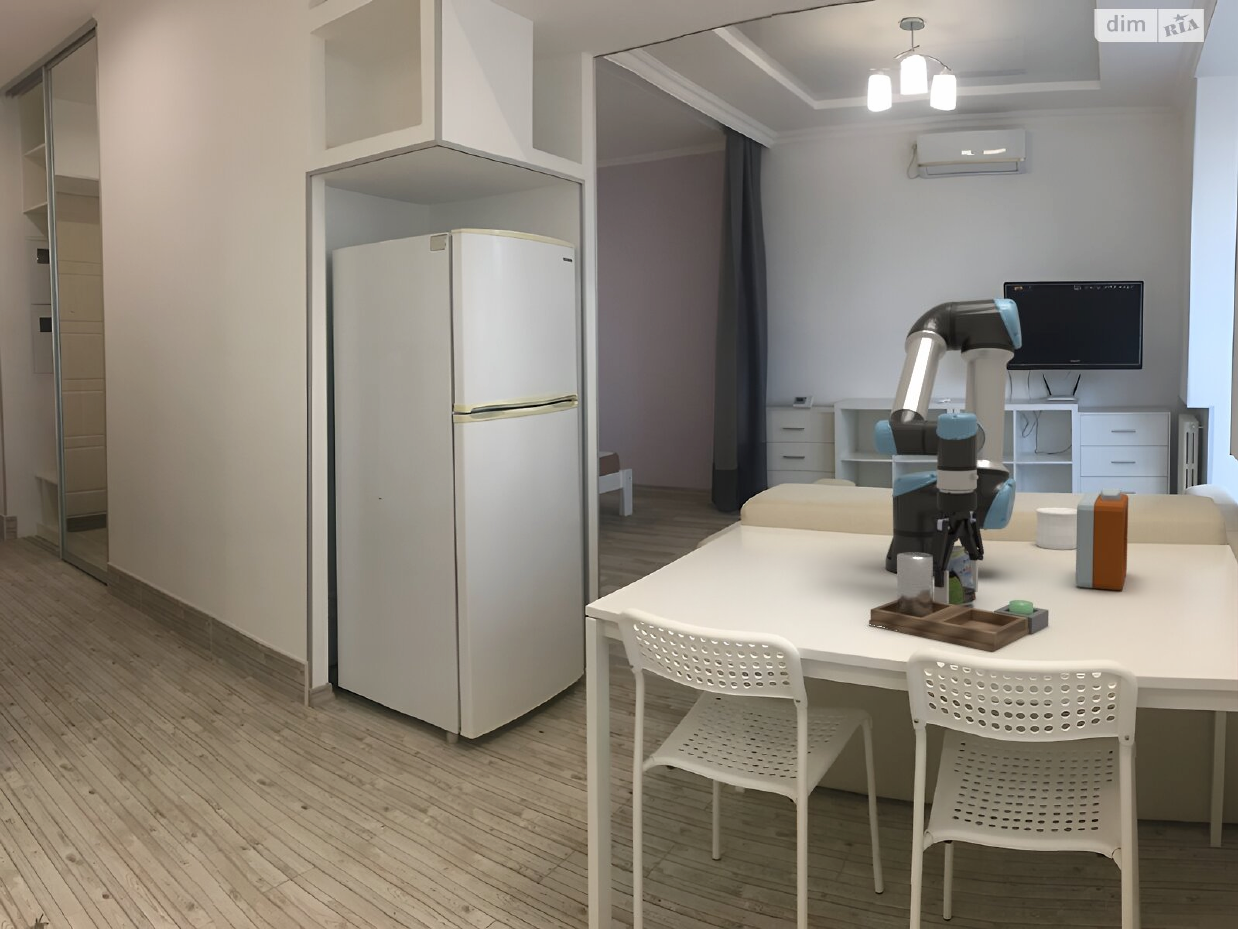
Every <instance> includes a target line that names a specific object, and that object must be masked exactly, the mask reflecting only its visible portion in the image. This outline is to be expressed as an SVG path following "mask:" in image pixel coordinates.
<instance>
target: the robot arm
mask: <svg viewBox="0 0 1238 929" xmlns="http://www.w3.org/2000/svg"><path fill="white" fill-rule="evenodd" d="M1021 329H1022V328H1021V322H1020V317H1019V311H1018V306H1017V303H1016V302H1015V301H1014V300H1013V299H1010V298H995V297H994V298H991V299H979V300H978V299H977V300H976V299H975V300H963V301H947V302H943V303H940V304H938V305H935V306H934V307H932V308H930V309H929V310H927V311H925V313H923V314H922V315H921V316H920V317H919V318H918V319H917V320H916V321H915V323H914V324H912V326H911V328H910V329H909V331H908V333H907V335H906V339H905V342H904V351H905V354H906V356H905V359H904V364H903V367H902V371H901V374H900V377H899V378H900V379H899V382H898V386H897V389H896V393H895V397H894V401H893V404H892V407H891V408H892V409H891V411H890V416H889V419H885V420H879V421H877V422H876V424H875V427H874V429H873V430H874V431H873V432H874V433H873V442H874V443H873V444H874V449H875V451H876V452H877V453H878V454H880V455H885V456H886V455H887V456H888V455H889V456H895V457H897V456H931V457H932V456H934V457H936V458H937V459H936V460H937V462H936V463H937V467H936V470H928V471H927V470H926V471H918V472H911V473H906V474H902V475H899V476H897V477H895V479H894V481H893V485H892V487H893V488H892V490H893V491H892V495H891V497H892V537H891V538H892V539H891V542H890V544H889V548H888V551H887V553H886V557H885V569H886V568H887V569H888V570H887V569H886V570H887V571H889V570H890V571H889V572H893V573H896V572H897V555H898V554H900V553H907V552H918V553H926V554H930V555H932V556H933V601H937V602H942V603H949V571H946V569H947V566H948V562H949V559H950V556H951V553H952V550H953V547H954V546H955V543H956V542H958V541H959V542H960V546H964V547H965V549H966V551H967V552H968V553H969V559H970V565H971V571H972V577H973V583H974V589H975V593H978V591H979V561H983V560H984V555H985V551H984V550H985V549H984V544H983V539H982V534H981V530H984V531H987V530H1003V529H1005V528H1006V527H1007V526H1008V525H1009V524H1010V521H1011V518H1012V515H1013V510H1014V505H1015V499H1016V490H1017V481H1016V480H1015V479H1013V478H1010V471H1009V470H1008V468H1006V467H1005V466H1004V464H1003V458H1004V457H1003V454H1004V436H1005V435H1004V434H1005V433H1004V428H1005V410H1006V408H1005V406H1006V386H1007V385H1006V383H1007V382H1006V381H1007V380H1006V379H1007V364H1008V362H1009V361H1011V360H1012V359H1013V358H1014V357H1015V350H1018V349H1021V347H1022V346H1023V344H1022V330H1021ZM948 351H955V352H956V351H960V358H961V359H962V360H963V361H964V362H965V363H966V380H965V382H966V383H965V401H964V402H965V403H964V412H950V413H941V414H940V415H938V417H937V420H930V419H929V420H927V417H928V416H927V415H928V411H929V408H930V403H931V399H932V394H933V390H934V386H935V382H936V376H937V373H938V370H939V369H938V368H939V364H940V360H942V359H943V358H944V357H945V355H946V353H947V352H948Z"/></svg>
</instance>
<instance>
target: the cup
mask: <svg viewBox="0 0 1238 929" xmlns="http://www.w3.org/2000/svg"><path fill="white" fill-rule="evenodd" d="M1035 512H1036V530H1035V541H1036V542H1035V543H1036V545H1037V546H1038V547H1039V548H1042V549H1048V550H1058V551H1059V550H1060V551H1061V550H1062V551H1066V550H1076V538H1077V508H1070V507H1069V508H1068V507H1040V508H1037V509H1036V510H1035Z"/></svg>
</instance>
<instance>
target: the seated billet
mask: <svg viewBox="0 0 1238 929" xmlns="http://www.w3.org/2000/svg"><path fill="white" fill-rule="evenodd" d="M896 574H897V575H896V582H897V583H896V594H897V595H896V600H897V613H900V614H905V615H910V616H915V617H920V618H923V617H925V616H927V615H930V614H932V613H933V601H934V575H933V556H932V555H930V554H926V553H918V552H907V553H900V554H898V555H897V573H896Z"/></svg>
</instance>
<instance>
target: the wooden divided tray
mask: <svg viewBox="0 0 1238 929" xmlns="http://www.w3.org/2000/svg"><path fill="white" fill-rule="evenodd" d="M869 624H871V625H875V626H882V627H885V628H888V629H891V630H890V631H893V630H897V631H896V632H898V631H900V632H899V633H902V632H903V633H904V634H907V633H908V634H909V635H913V636H918V637H921V638H926V639H931V640H936V641H941V642H946V643H950V644H955V645H959V646H960V645H961V646H964V647H969V648H973V649H978V650H982V651H986V652H987V651H988V652H992V653H994V652H996V651H997V650H1000V649H1002V648H1003V647H1005V646H1007V645H1009V644H1011V643H1014V642H1016V641H1017V640H1019V639H1022V638H1023V637H1025V636H1027V635H1030V634H1029V628H1028V618H1026V617H1020V616H1015V615H1009V614H1003V613H998V612H994V611H992V610H985V609H981V608H976V607H975V608H974V607H969V606H959V605H953V604H948V603H942V602H937V601H934V600H933V613H932V614H930V615H927V616H925V617H923V618H920V617H915V616H910V615H905V614H900V613H897V599H895V600H892V601H890V602H887V603H884V604H882V605H879V606H876V607H873V608H870V619H869V621H868V625H869ZM888 629H887V630H888ZM908 634H907V635H908Z"/></svg>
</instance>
